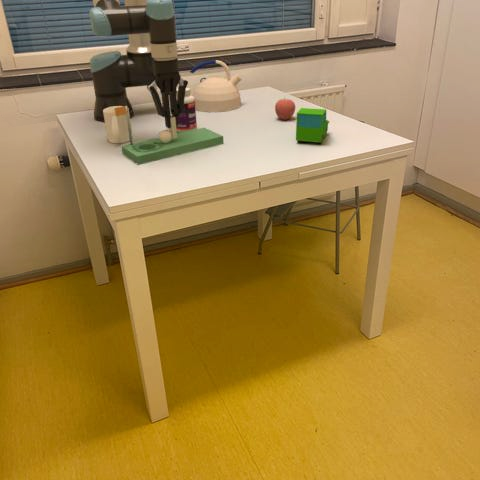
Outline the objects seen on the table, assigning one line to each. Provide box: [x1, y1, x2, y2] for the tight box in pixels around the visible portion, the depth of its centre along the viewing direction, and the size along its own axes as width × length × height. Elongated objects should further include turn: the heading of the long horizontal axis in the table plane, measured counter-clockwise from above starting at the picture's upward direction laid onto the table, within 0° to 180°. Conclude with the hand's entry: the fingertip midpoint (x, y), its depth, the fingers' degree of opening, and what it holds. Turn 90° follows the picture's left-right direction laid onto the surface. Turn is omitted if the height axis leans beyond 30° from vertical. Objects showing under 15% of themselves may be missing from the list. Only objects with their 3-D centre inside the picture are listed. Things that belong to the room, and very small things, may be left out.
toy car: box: [295, 107, 330, 145], centre depth 155 cm, size 10×13×10 cm
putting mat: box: [121, 127, 224, 165], centre depth 152 cm, size 12×30×2 cm, turn 125°
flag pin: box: [114, 106, 134, 145], centre depth 145 cm, size 1×4×12 cm, turn 125°
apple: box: [274, 97, 296, 121], centre depth 175 cm, size 7×7×8 cm
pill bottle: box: [176, 87, 198, 133], centre depth 164 cm, size 8×8×14 cm
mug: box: [103, 106, 134, 144], centre depth 157 cm, size 8×10×12 cm
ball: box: [158, 129, 172, 143], centre depth 148 cm, size 4×4×4 cm
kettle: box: [189, 59, 243, 113], centre depth 192 cm, size 20×21×18 cm
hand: (173, 137), depth 150 cm, fingers closed
